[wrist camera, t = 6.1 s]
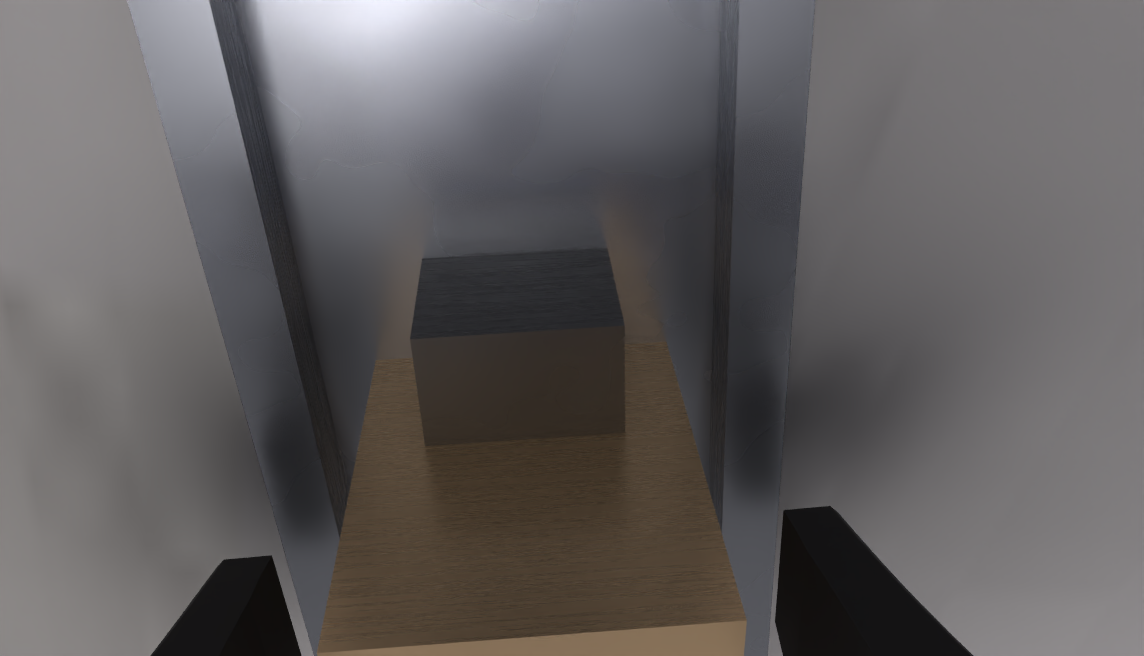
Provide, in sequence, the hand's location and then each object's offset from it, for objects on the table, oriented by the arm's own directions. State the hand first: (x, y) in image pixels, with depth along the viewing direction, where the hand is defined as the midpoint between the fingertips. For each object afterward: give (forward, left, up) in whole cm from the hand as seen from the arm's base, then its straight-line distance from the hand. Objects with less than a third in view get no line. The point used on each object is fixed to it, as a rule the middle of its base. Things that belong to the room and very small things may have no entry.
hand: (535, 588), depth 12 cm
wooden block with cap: (0, 0, -2) cm, 2 cm away
